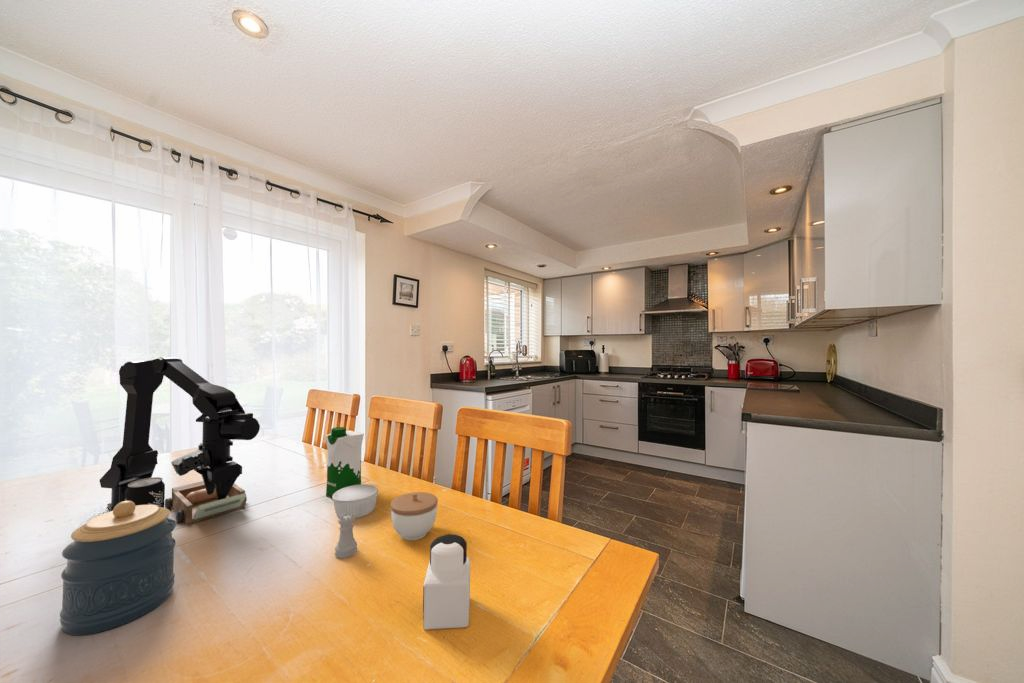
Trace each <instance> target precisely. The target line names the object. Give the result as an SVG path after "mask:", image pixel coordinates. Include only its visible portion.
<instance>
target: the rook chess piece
mask: <svg viewBox="0 0 1024 683" xmlns="http://www.w3.org/2000/svg"><path fill="white" fill-rule="evenodd" d="M355 520H356V518H354V517H353V514H351V513H349V515H347V513H345V514H344V516H343V515H341V517H339V520H338V521H337V523H338V524H339V525H340V527H339V528H338V529H339V532H340V533H339V538H338V541H337V543H336V545H335V548H334V550H335V551H334V556H335V557H336V558H338V559H341V560H342V559H347V558H351V557H352V556H354V555H355V554H356V553H357V551H358V547H357V546H358V542H357V541H356V538H354V531H353V530H354V526H355V525H353V523H354V521H355Z"/></svg>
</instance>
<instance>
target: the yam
mask: <svg viewBox="0 0 1024 683" xmlns="http://www.w3.org/2000/svg"><path fill="white" fill-rule="evenodd" d="M214 498H217V494H216V489H215V490H214V492H213V494H210V495H208V494H207V491H206V489H202V490H198V491H194V492H191V493H189V494H188V495H187V496H186V499H187V500H188V501H189V502H190V503H191V504H195V503H199V502H202V501H206V500H210V499H214Z"/></svg>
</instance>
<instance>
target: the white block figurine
mask: <svg viewBox="0 0 1024 683" xmlns="http://www.w3.org/2000/svg"><path fill="white" fill-rule="evenodd" d="M467 546H468V545H467V540H466V539H465V538H464V537H463V536H461V535H459V534H454V533H453V534H452V533H451V534H450V533H448V534H442V535H440V536H438V537H436V538H434V539H433V540H432V542H431V543H430V546H429V562H428V566H427V570H426V574H425V579H424V581H423V588H422V589H423V590H422V594H423V595H422V629H423V630H424V631H425V630H427V631H428V630H442V629H444V630H445V629H459V628H461V629H462V628H463V629H464V628H467V627H468V626H469V625H470V624H469V623H470V620H469V619H470V603H471V602H470V601H471V600H470V599H471V558H470V557H469V556H468V557H467V554H468V553H467V551H468V550H467V549H468V548H467Z"/></svg>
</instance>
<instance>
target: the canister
mask: <svg viewBox="0 0 1024 683" xmlns="http://www.w3.org/2000/svg"><path fill="white" fill-rule="evenodd" d="M170 515H171V511H170V509H169V508H168V509H166V508H165V507H164V508H162V507H159V506H157V505H137V506H135V503H134V502H132V501H123V502H120V503H118V504H117V505H116V506H115V507H114V509H113V511H110V510H109V511H107V512H104V513H101V514H99V515H97V516H95V517H93V518H90V519H89V520H87V521H86V523H84V524H83V525H81V526H79V527H78V528H76V529H75V530H74V531H72V532H71V536H70V538H71V540H73V541H72V542H70V543H69V544H68V545H67V546H65V547H64V549H63V550H62V552H61V555H62V557H63V558H64V559H65V560H67V562H66V566H65V567H64V568H63V570H62V572H61V573H60V574H61V576H60V578H61V579H62V598H61V599H62V602H61V607H62V608H61V610H60V613H59V616H60V618H59V622H60V625H61V627H62V628H61V629H62V631H63V633H66V634H67V635H68V634H69V635H72V636H75V635H76V636H78V635H79V636H81V635H82V636H83V635H90V634H91V635H92V634H95V633H96V634H97V633H100V632H105V631H107V630H110V629H114V628H117V627H120V626H122V625H125V624H127V623H130V622H132V621H134V620H136V619H138V618H141V617H142V616H144V615H146V614H148V613H149V612H151V611H153V610H154V609H156V608H158V607H159V606H160V605H161V604H162V603H163V602H165V601H166V600H167V599H168V598H169V596H170V595H171V593H172V592H173V586H174V585H175V576H176V575H175V573H174V565H175V564H174V563H175V561H174V560H175V546H176V540H175V538H174V537H173V534H172V532H173V531H174V529H175V528H176V527H177V521H175V520H174V519H172V518H169V517H170Z"/></svg>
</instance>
